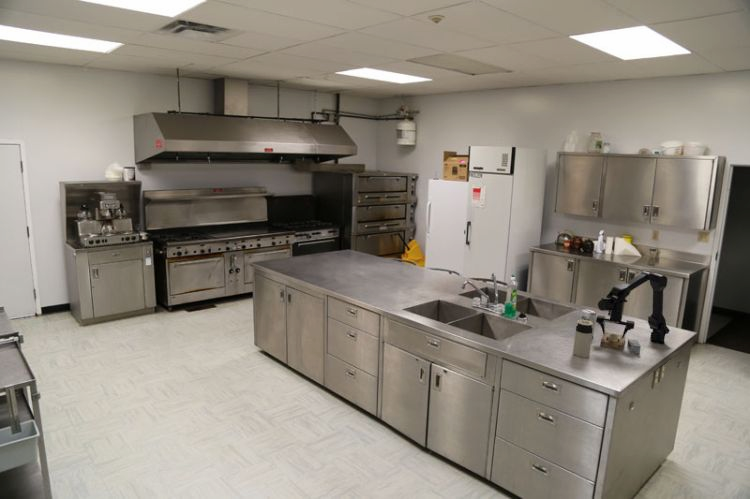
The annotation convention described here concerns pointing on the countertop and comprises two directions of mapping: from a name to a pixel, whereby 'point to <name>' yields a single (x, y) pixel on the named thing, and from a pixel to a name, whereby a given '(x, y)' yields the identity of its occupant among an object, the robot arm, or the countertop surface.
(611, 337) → the square bit
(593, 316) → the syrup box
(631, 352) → the grey rectangular block
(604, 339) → the socket block
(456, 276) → the countertop surface
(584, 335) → the travel mug
